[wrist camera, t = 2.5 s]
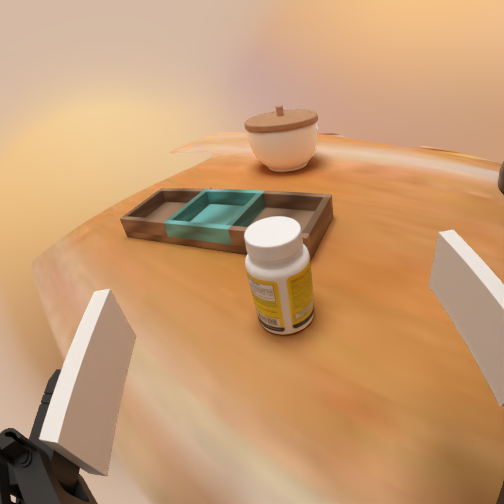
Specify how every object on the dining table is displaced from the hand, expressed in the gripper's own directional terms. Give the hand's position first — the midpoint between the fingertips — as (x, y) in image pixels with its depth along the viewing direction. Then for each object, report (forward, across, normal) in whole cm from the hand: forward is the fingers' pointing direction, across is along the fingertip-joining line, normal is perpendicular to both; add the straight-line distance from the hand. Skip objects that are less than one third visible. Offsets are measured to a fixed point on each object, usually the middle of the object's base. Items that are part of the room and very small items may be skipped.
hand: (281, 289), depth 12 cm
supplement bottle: (+10, 0, -12) cm, 16 cm away
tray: (+28, -6, -12) cm, 30 cm away
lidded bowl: (+46, +6, -12) cm, 48 cm away
